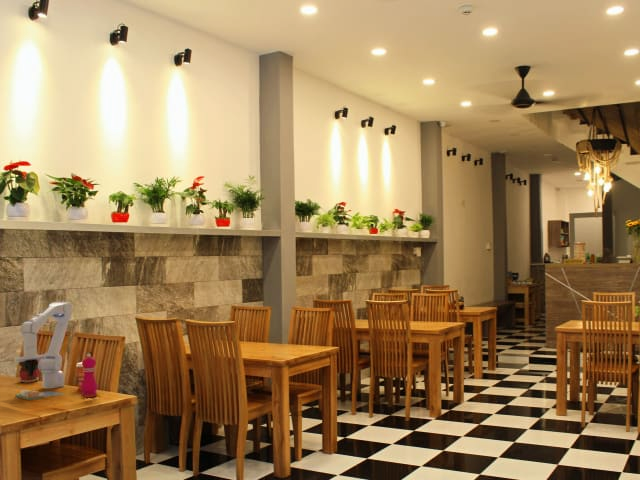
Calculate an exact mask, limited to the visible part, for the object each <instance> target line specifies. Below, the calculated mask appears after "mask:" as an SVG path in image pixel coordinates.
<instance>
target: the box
mask: <svg viewBox="0 0 640 480" xmlns="http://www.w3.org/2000/svg"><path fill="white" fill-rule="evenodd" d="M15 398H18V399H19V398H20V399H24V400H27V401H33V400H38V399H43V398H45V399H46V397H45V395H42V396H36V397H26V396H22V395H20V393H18V394H17V393H16V394H15Z"/></svg>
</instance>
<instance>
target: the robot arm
mask: <svg viewBox="0 0 640 480" xmlns="http://www.w3.org/2000/svg"><path fill="white" fill-rule="evenodd" d="M73 311H74V308H73V305H72V304H71V302H69V301H67V302H51V303H50V304H48V307H47V309H45V310H44V311H43V312H42V313H36V314H35V315H34V316H33V317H32V318H30V319H29V320H27V321H24V322H22V324H21V326H20V332H21V334H22V338H23V356H19V357H15V358H13V362H14V363H17V364H18V363H20V362H23V364H24V365H25V367H26V369H27V372H28V376H33V373H34V370H35V367H36V365H37V363H38V362H39V363H38V366H37V367H38V369H39V372H40V373H41V374H42V389H45V390H47V389H48V390H49V389H56V388H62V387H64V386H65V376H64V373H63V371H62V370H61V369H62V367H63V357H62V355H61V354H60V352H61V349H62V346H63V341H64V339H65V336H66V332H67V329H68V326H69V323H70V320H71V318H72V313H73ZM51 317H52V319H53V321H56V325H55V328H54V330H53V335H52V337H51V341H50V344H49V347H48V350H47V351H46V352H45V353H43V354H38V346H37V345H38V343H37V342H38V341H37V339H38V338H37V336H38V335H37V334H38V333H39V331H40V329H41V328H42V327H43V326H44V325H46V324H47V321H48V320H49V318H51ZM27 359H30V360H27Z"/></svg>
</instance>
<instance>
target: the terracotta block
mask: <svg viewBox="0 0 640 480" xmlns="http://www.w3.org/2000/svg"><path fill="white" fill-rule="evenodd" d="M39 393H40V391H38V390H31V391H29V392H28V397H36V396H39Z"/></svg>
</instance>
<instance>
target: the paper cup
mask: <svg viewBox="0 0 640 480" xmlns="http://www.w3.org/2000/svg"><path fill="white" fill-rule="evenodd" d="M83 368H84V367H83V365H82V361H81V362H77V363H76V373H77V385H78V388H77V389H78V390H80V391H82V390H81V386H82V383H83V380H84V371H83V370H84V369H83Z"/></svg>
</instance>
